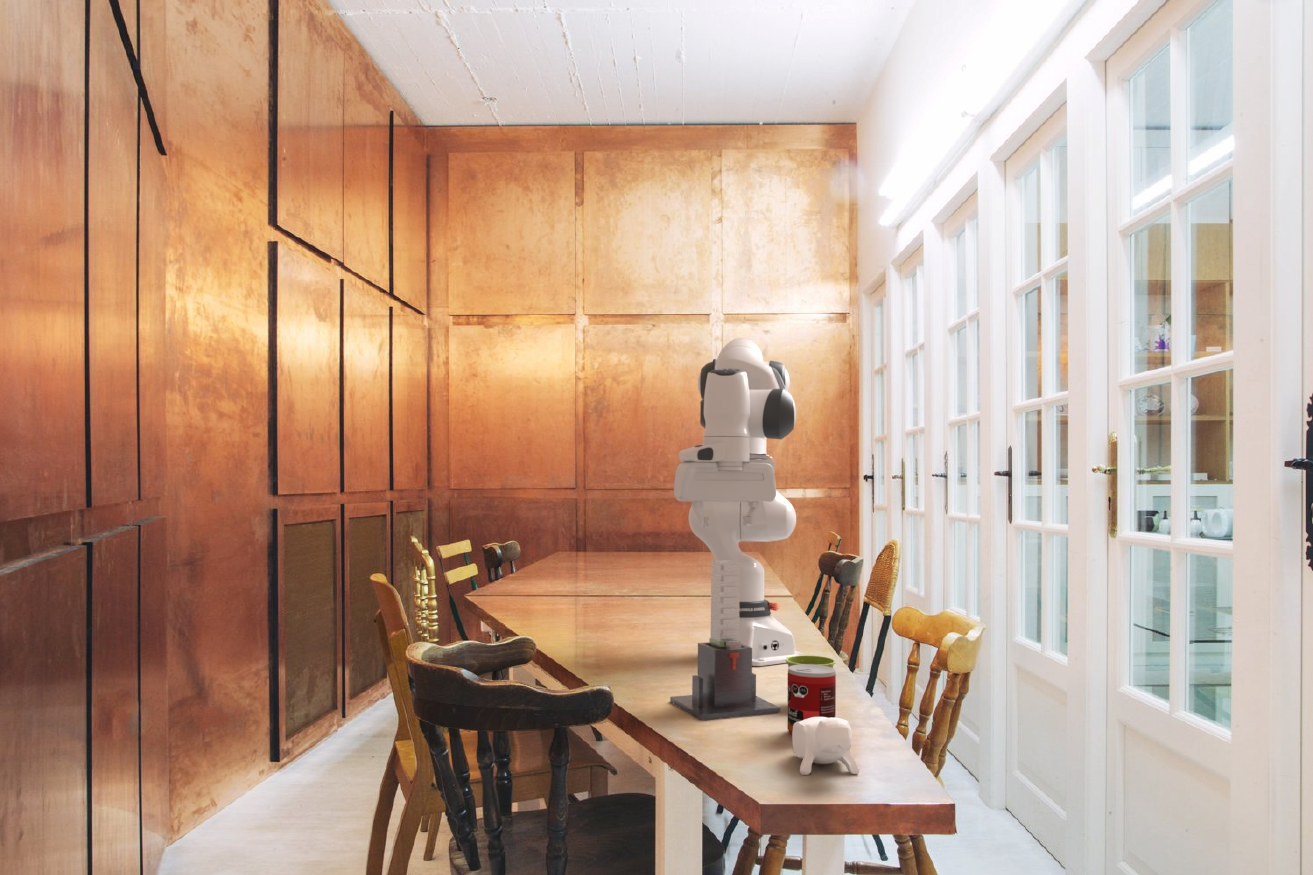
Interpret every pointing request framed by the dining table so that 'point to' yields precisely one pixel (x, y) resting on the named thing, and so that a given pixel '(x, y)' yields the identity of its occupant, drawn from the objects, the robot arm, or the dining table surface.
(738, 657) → the stand
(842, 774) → the dining table surface
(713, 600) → the column
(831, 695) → the canned food
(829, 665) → the plant pot
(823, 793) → the dining table surface
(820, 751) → the white molar tooth
